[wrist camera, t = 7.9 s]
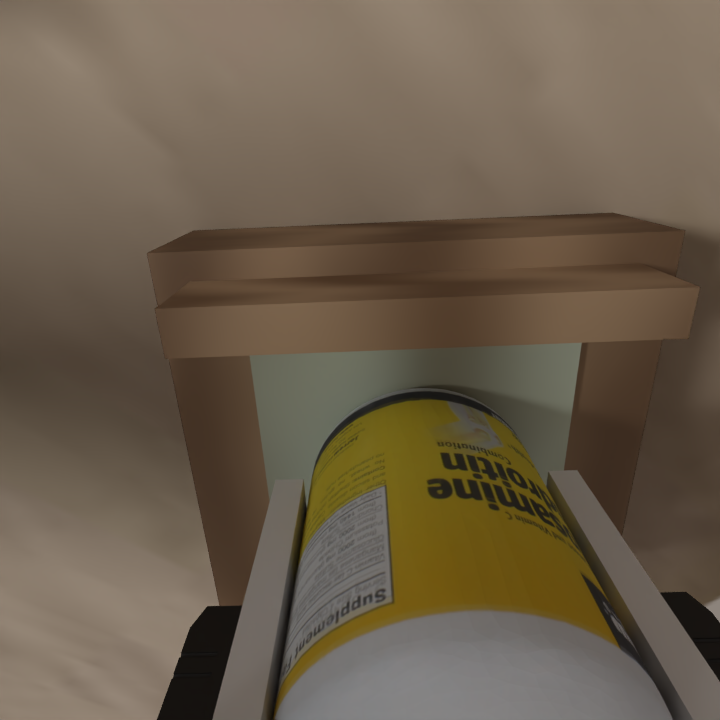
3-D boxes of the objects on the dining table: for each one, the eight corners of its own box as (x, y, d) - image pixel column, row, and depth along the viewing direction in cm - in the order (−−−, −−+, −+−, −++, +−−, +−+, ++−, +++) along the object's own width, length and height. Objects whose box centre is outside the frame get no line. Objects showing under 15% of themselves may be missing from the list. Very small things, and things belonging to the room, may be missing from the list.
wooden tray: (247, 551, 22) (205, 700, 16) (193, 230, 17) (101, 274, 11) (563, 541, 22) (639, 687, 16) (612, 212, 17) (756, 248, 11)
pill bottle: (552, 506, 16) (953, 1242, 5) (374, 579, 17) (398, 1299, 6) (470, 338, 14) (872, 1020, 3) (271, 436, 15) (45, 1173, 4)
